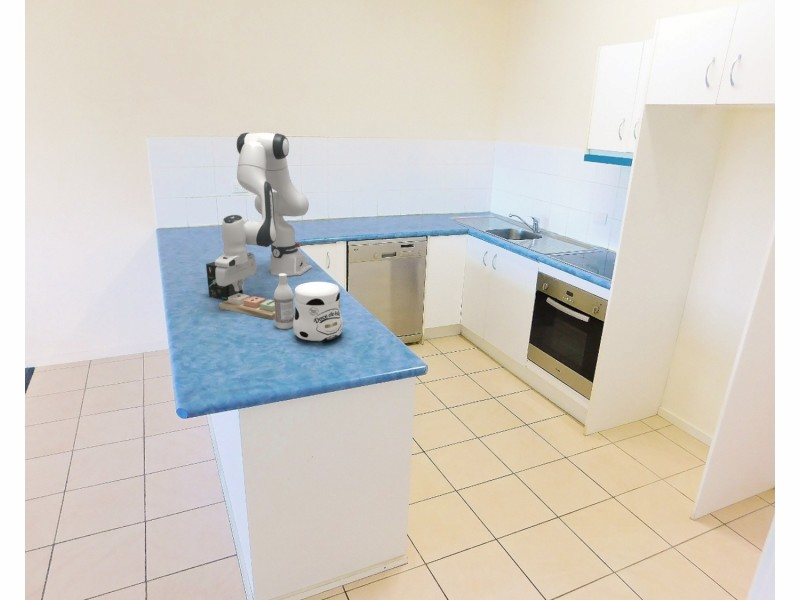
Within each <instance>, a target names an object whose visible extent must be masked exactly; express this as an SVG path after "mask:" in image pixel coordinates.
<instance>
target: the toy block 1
mask: <svg viewBox="0 0 800 600" xmlns="http://www.w3.org/2000/svg"><path fill="white" fill-rule="evenodd" d="M250 297H251V296H250V294H245V293H243V294H240V293H237V294H235V295H232V296H230V297H228V303H232V304H237V305H242V304H244V300H246V299H248V298H250Z"/></svg>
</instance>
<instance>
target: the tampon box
mask: <svg viewBox="0 0 800 600" xmlns="http://www.w3.org/2000/svg"><path fill="white" fill-rule="evenodd" d="M205 266H206V276H207V286H208V296H209V298H213V299H218V300H221V301H223V302H224V301H227V300H228V297H230V296H232V295H235V294H237V293H240V294H244V291H243V290H244V289H242V290H240V291H238V292H237V291H235V288H234V286H233V285H232V284H229V285H227V286H219V285H218V284H217V283H216V274H215V270H216V267H217V266H216V265H215V261H213V262H209V263H206V264H205ZM238 284H239V281H238Z"/></svg>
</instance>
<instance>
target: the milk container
mask: <svg viewBox="0 0 800 600" xmlns="http://www.w3.org/2000/svg"><path fill="white" fill-rule="evenodd" d="M340 291H341V290H340V287H339V286H338V285H337V284H336V283H333V282H328V281H309V282H305V283H300V284H298V285H297V286H296V287H295V288H294V321H293V327H292V328H293V331H294V335H295V336H296V337H297V338H298V339H300V340H303V341H305V342H311V343H323V342H329V341H332V340H334V339H336V338H337V337H339V336H340V335H341V333H342V331H343V327H344V325H343V324H344V321H343V317H342V314H341V313H342V312H341V292H340Z"/></svg>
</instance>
